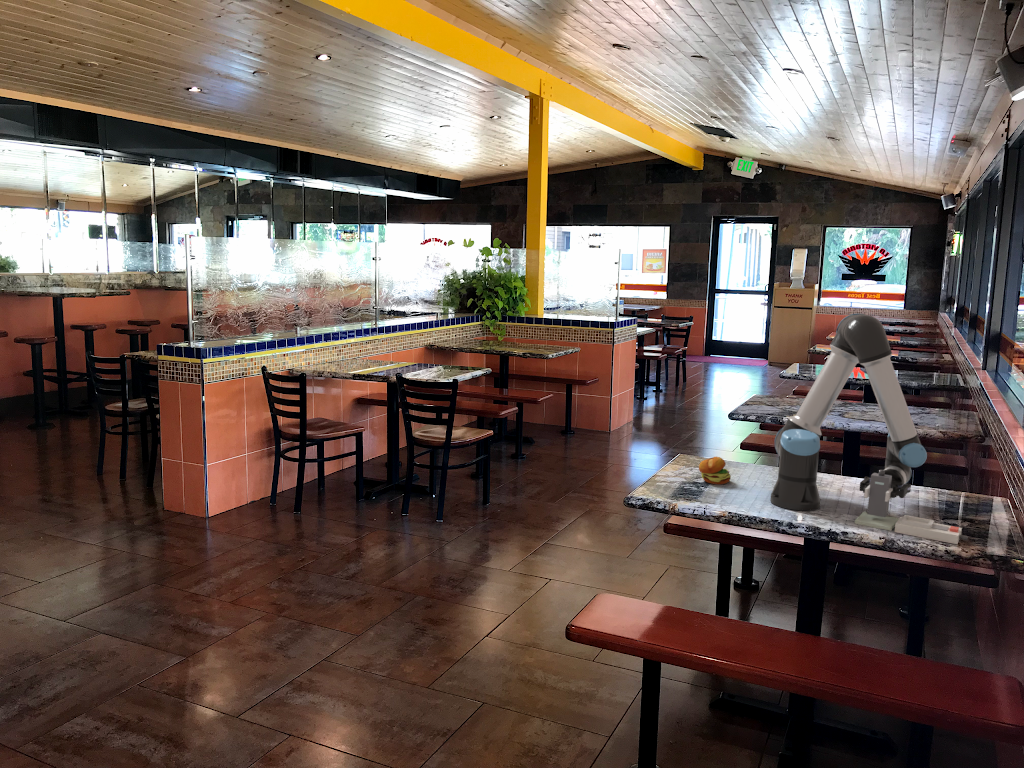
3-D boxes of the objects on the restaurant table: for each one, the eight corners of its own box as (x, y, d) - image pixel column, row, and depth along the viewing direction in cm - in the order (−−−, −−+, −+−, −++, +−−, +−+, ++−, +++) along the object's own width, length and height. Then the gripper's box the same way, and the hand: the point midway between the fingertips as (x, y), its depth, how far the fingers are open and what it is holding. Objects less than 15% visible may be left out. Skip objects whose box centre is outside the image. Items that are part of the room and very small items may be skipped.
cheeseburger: (737, 484, 276) (733, 457, 274) (710, 492, 274) (705, 465, 272) (723, 476, 286) (719, 450, 284) (696, 484, 284) (692, 458, 282)
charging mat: (854, 523, 235) (854, 520, 235) (863, 514, 245) (863, 511, 245) (891, 530, 230) (891, 527, 230) (898, 521, 239) (898, 518, 239)
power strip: (894, 532, 229) (895, 520, 228) (900, 524, 236) (901, 513, 236) (965, 545, 219) (966, 533, 218) (968, 537, 226) (970, 526, 225)
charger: (867, 514, 237) (871, 470, 235) (870, 511, 240) (874, 467, 238) (885, 517, 234) (889, 473, 232) (887, 514, 237) (892, 470, 236)
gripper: (921, 497, 246) (908, 513, 227) (859, 486, 256) (842, 501, 238) (924, 473, 245) (911, 488, 226) (862, 464, 255) (845, 477, 236)
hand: (876, 495), depth 232 cm, fingers closed on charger, 5 cm apart
